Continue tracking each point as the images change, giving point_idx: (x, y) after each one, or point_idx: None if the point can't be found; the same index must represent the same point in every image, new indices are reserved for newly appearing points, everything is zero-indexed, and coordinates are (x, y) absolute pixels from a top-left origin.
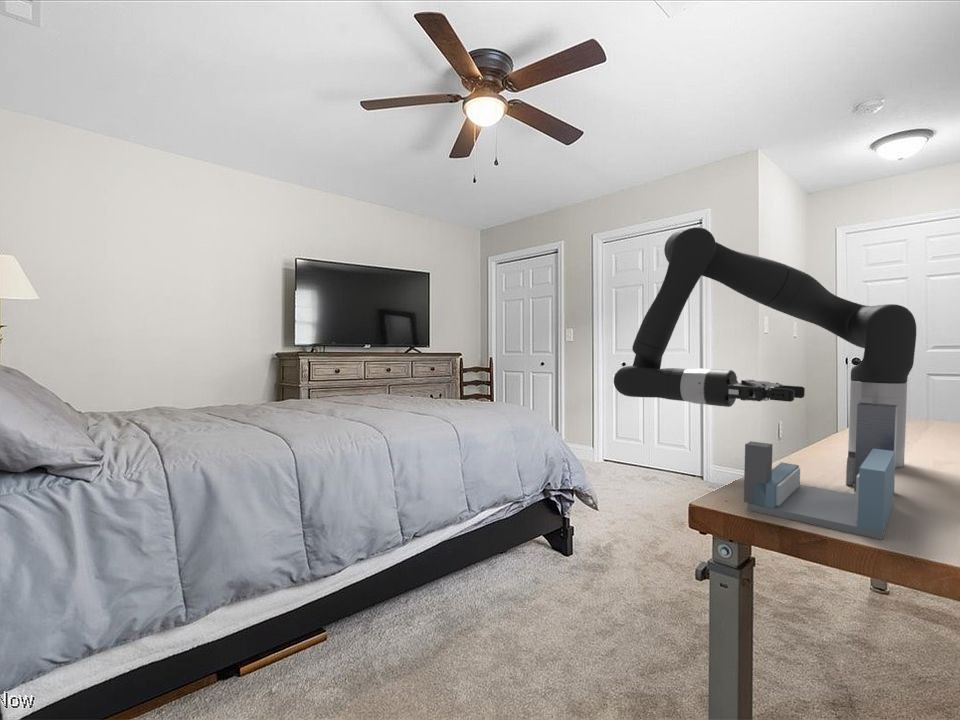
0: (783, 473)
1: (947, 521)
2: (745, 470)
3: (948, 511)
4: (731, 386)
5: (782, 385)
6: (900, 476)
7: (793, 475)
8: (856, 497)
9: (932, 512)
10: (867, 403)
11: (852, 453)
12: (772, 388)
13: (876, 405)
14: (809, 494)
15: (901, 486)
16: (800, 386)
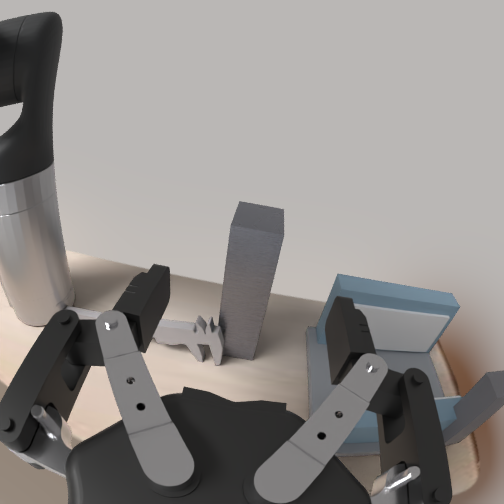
0: None
1: (317, 302)
2: (487, 418)
3: (277, 295)
4: (448, 489)
5: (139, 314)
6: (119, 297)
7: None
8: (438, 334)
9: (294, 306)
10: (246, 221)
11: (211, 322)
12: (364, 347)
13: (273, 219)
14: None
15: (181, 309)
16: (154, 268)
